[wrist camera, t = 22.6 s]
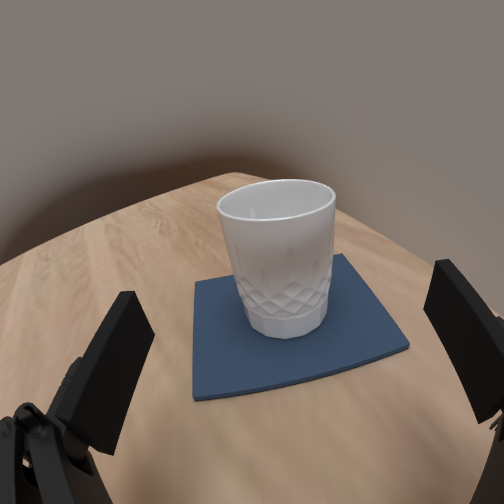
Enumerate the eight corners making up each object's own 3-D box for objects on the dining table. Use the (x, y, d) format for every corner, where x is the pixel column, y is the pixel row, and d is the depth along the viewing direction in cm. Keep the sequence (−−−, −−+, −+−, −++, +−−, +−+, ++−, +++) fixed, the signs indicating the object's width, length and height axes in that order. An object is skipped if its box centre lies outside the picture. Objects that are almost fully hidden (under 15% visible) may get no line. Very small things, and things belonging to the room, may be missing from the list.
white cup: (243, 353, 20) (214, 230, 15) (237, 290, 27) (217, 188, 22) (346, 333, 20) (355, 208, 15) (318, 276, 27) (314, 174, 22)
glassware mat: (342, 257, 30) (342, 253, 30) (408, 348, 18) (410, 343, 18) (196, 286, 29) (195, 281, 29) (194, 401, 17) (192, 397, 17)
